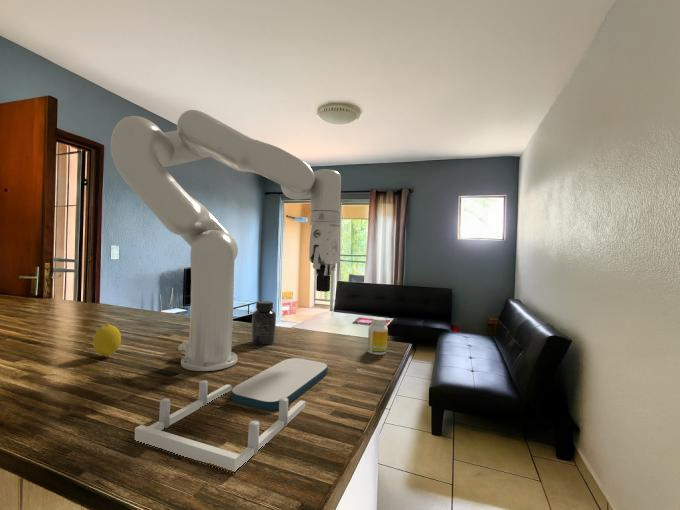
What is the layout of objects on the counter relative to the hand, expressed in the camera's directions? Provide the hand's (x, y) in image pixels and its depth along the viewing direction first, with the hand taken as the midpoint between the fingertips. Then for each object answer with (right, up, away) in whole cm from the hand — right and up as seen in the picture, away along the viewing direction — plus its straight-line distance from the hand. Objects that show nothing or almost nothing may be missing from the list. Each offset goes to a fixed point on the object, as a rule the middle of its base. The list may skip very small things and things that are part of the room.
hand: (323, 290), depth 85 cm
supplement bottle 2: (+15, -19, +9) cm, 25 cm away
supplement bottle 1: (-19, -17, +13) cm, 28 cm away
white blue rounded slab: (-7, -18, -16) cm, 25 cm away
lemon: (-52, -16, -5) cm, 54 cm away
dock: (-13, -17, -33) cm, 39 cm away
